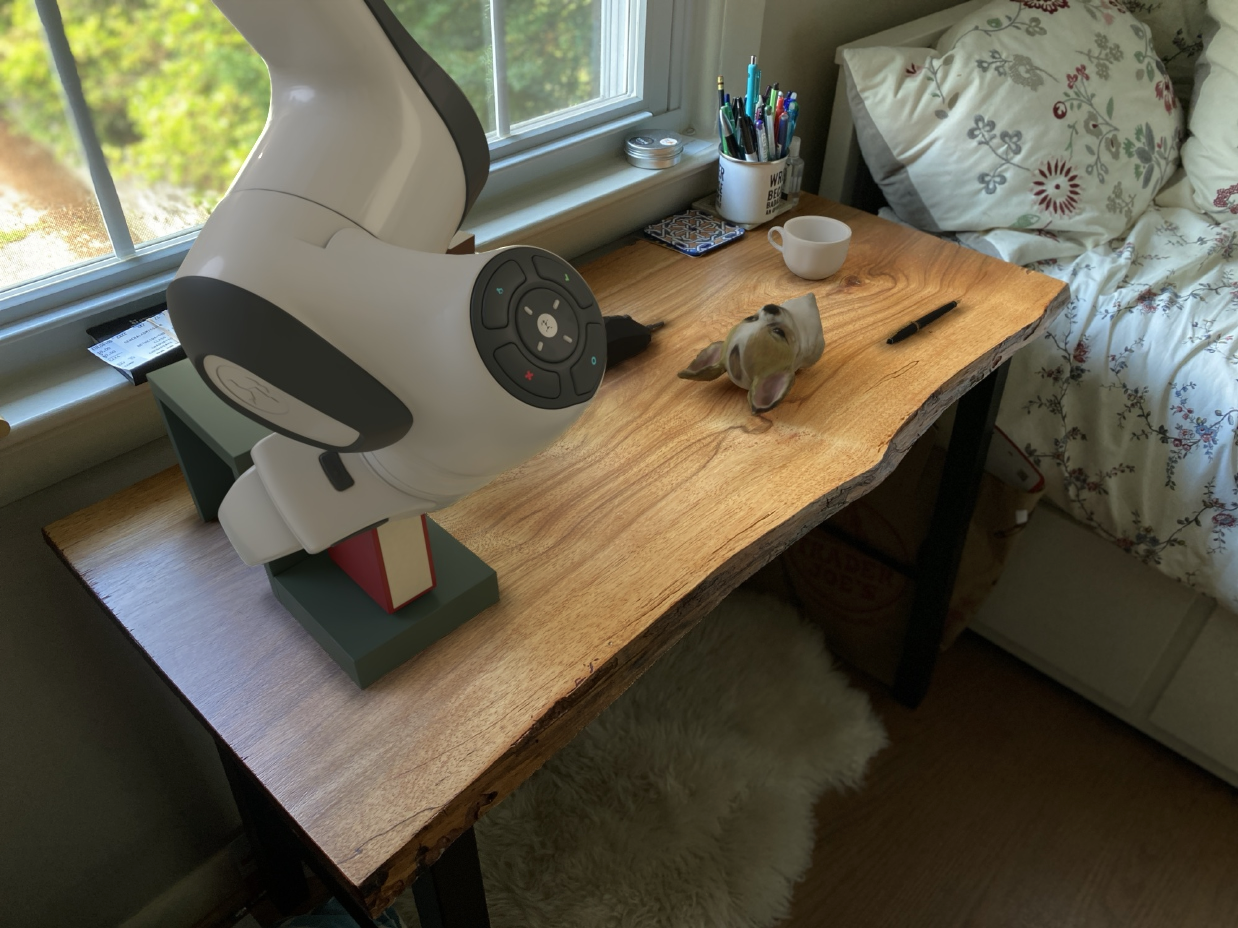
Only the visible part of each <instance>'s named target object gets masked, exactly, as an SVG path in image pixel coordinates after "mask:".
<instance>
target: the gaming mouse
mask: <svg viewBox="0 0 1238 928" xmlns="http://www.w3.org/2000/svg"><path fill="white" fill-rule="evenodd" d="M602 317H603V321H604V325H605V329H606V336H607V361H606V367H605V372H606V371H609V370H610V369H613V368H614V367H615V366H618V365H620V364H621V363H623V362H625V361H626V360H629V359H631V358H633V357H634V356H637V354H640V353H641V352H643V351H645V350H647V348H648V346H649V345H650V344H651V342H652V334H651V332H650V331H653V330H654V329H656V328H658V327H661V326H663V325H665V322H664V321H663V320H662V321H659V322H657V323H654V324H651V323H650V324H647V325H644V324H642V323H640V322H638V321H636V320H635V319H633V317H632V316H630V315H629V314H627V313H626V314H623V315H619V314H615V315H602Z"/></svg>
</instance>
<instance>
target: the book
mask: <svg viewBox="0 0 1238 928" xmlns="http://www.w3.org/2000/svg"><path fill="white" fill-rule="evenodd" d="M425 514H426V513H424V514H422V515H419V516H416V517H412V518H407V519H403V520H398V521H393V522H389V523H385V524H383V525H381V526H380V527H377V528H375V529H372V530H369V531H367V532H364V533H362V534H359V535H357V536H355V537H353V538H351V539H349V540H346V541H344V542H342V543H340V544H338V545H336V546H334V547H331V546H330V547H328V548H327V549H328V553H329V556H330V558H331V559H332V560H333V561H334V562H335V563H336V564H337V565H338V566H339V567H341V568H342V569H343V570H344V571H345V572H346V573H347V574H348V575H349V576H350V577H351V578H352V579H353V580H354V581H355V582H356V583H357V584H358V585H359V586H360V587H361V588H362V589H363V590H364V591H365V592H367V593H368V594H369V595H370V596H371V597H372V598H373V599H374V600H375V601H376V602H377V603H378V604H379V605H380V606H381V607H382V608H383V609H384V610H385V611H386V612H387V613H388V614H392V613H394V612H395V611H397V610H399V609H400V608H402V607H404V606H405V605H407V604H409V603H410V602H412V601H414V600H415V599H417V598H418V597H420V596H422V595H423V594H425V593H427V592H428V591H430V590H432V589H433V588H435V587H436V586H437V583H436V577H435V571H434V565H433V559H432V553H431V547H430V541H429V535H428V529H427V523H426V517H425Z"/></svg>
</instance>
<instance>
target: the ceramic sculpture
mask: <svg viewBox="0 0 1238 928" xmlns="http://www.w3.org/2000/svg"><path fill="white" fill-rule="evenodd" d="M825 347H826V341H825V338H824V329H823V323H822V319H821V314H820V309H819V306H818V304H817V298H816V295H815V293H814V292H808V293H806V294H804V295H802V296H798V297H795V298H791V299H786V300H785V301H783V302H782V303H780V304H775V303H767V304H765V305H763V306H761V307H760V308H759V309H758V310H757V311H756V313H754V314H751V315H749V316H747V317H745V318H743V319H742V320H741V321H740V322H739V323H738V324H736V325H733V327H731V329H730V330H729V331H728V333H727V335H726V337H725V338H724V340H717V341H712V342H711V343H710V344H709V345H708V346H707V347H705V348H703V349H701V350H700V351H699V353H697V354H696V357H695V358H694V359H693V360H692V361H691V362H690V363H689V365H688V366H687V368H685V369H683V370H681V371H679V372H678V373H677V374H676V375H677V377H678V378H679V379H680V380H681V379H682V380H688V381H693V382H713V381H715V380H717V379H719V378H720V377H722V376H723V375H724V374H726V373H727V376H728V378H729V380H730V381H731V382H732V383H733V384H735V386H737V387H739V388H741V389H744V390H746V391H748V392H747V396H746V399H747V402H748V405H749V408H750V414H751V415H752V416H757V415H761V414H765V413H769V412H771V411H773V410H774V409H776V408H778V407H779V406H780V405H781V404H782V403H783V401H784V400H785V399H786V398H787V396H788V395H789V393H790V392H791V390H792V387H793V386H794V385H795V379H796V375H795V372H797V371H798V370H799V369H803V370H806V369H809V368H811V367H813V366H815V365H816V364H817V363H818V362H819V361H820V360H821V358H822V357H823V354H824V351H825Z"/></svg>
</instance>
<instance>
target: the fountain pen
mask: <svg viewBox="0 0 1238 928" xmlns="http://www.w3.org/2000/svg"><path fill="white" fill-rule="evenodd" d="M962 301H963V299H962V298H961V299H956V300H952V301H950V302H948V303H946V304H944V305H942V306H940V307H938V308H936V309H934V310H932V311H930V312H929V313H927V314H924V315H923V316H921V317H920V318H918V319H916V320H907V321H906V322H905V323H903V324H902V325H899V326H898V327H897V328H896V329H894V330H893V331H892V332H891V333H889V334H888V338H887V339H886V343H885V344H886V345H890V346H891V345H895V344H897V343H900V342H901V341H904V340H907V338H909V337H911V336H913V335H914V334H916V333H919V332H920V331H921V330H922V329H924V328H925V327H927V326H929V325H930V324H932V323H933V322H935V321H936V320H938V319H940V318H941V317H943V316H944V315H946V314H947V313H949V312H950V311H952V310H953V309H955V308H957V307H958V305H959V304H961V302H962Z"/></svg>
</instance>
